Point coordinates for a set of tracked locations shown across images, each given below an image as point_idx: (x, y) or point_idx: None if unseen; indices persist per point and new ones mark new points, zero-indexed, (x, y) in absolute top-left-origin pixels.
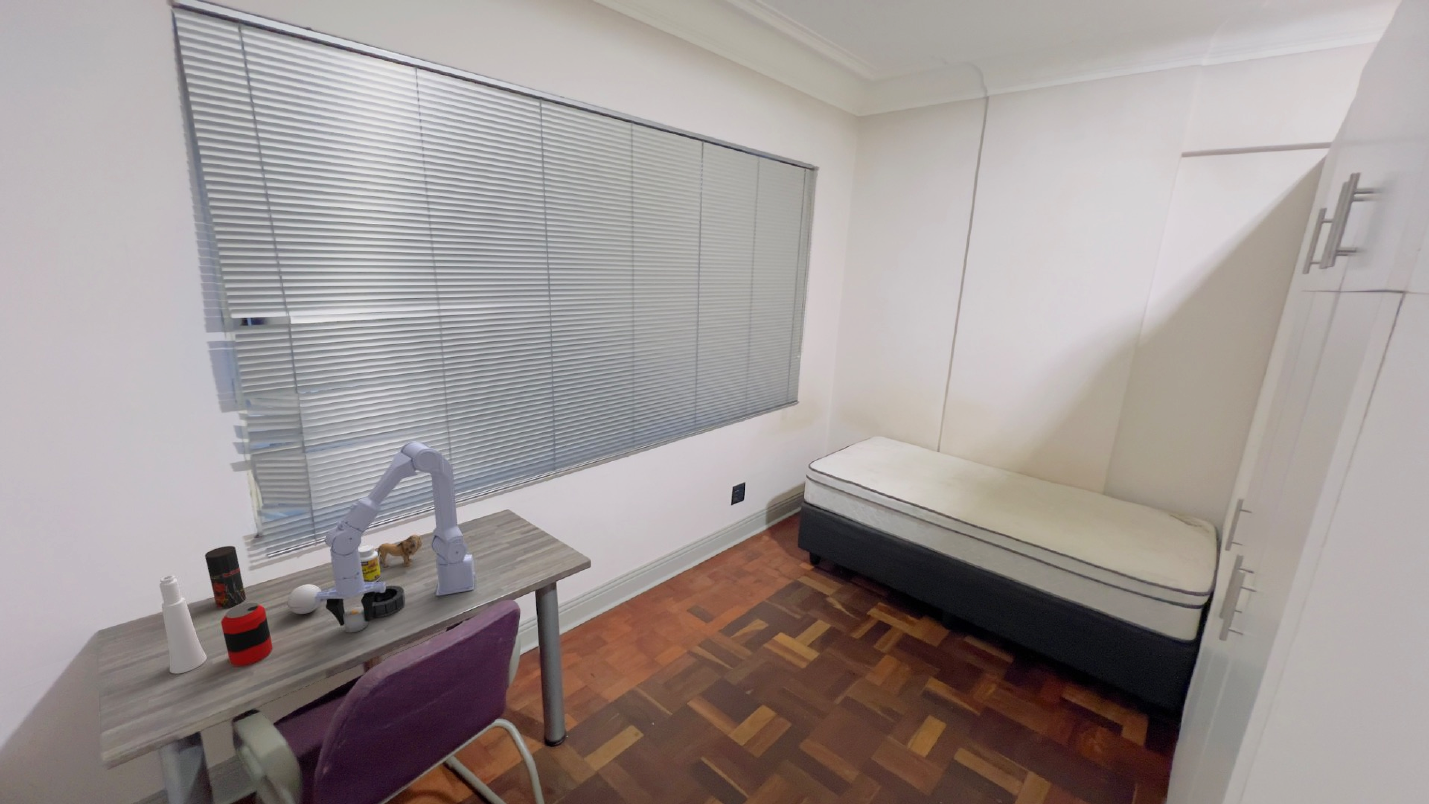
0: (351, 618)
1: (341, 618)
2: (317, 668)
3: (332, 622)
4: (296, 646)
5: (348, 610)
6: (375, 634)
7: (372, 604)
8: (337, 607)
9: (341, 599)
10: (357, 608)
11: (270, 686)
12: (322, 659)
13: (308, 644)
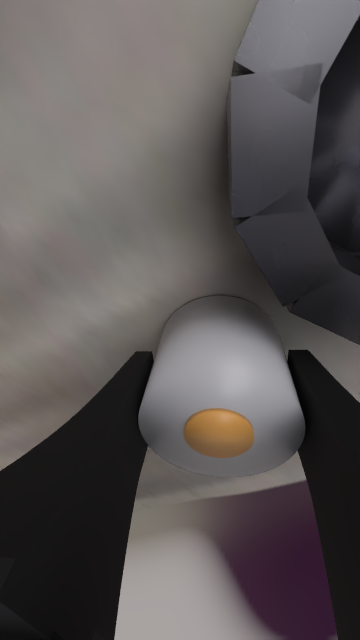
0: (218, 473)
1: (146, 446)
2: (160, 503)
3: (46, 258)
4: (8, 399)
5: (158, 400)
6: None
7: (349, 321)
8: (116, 612)
9: (74, 556)
10: (227, 393)
11: None
12: (155, 479)
13: (49, 401)
